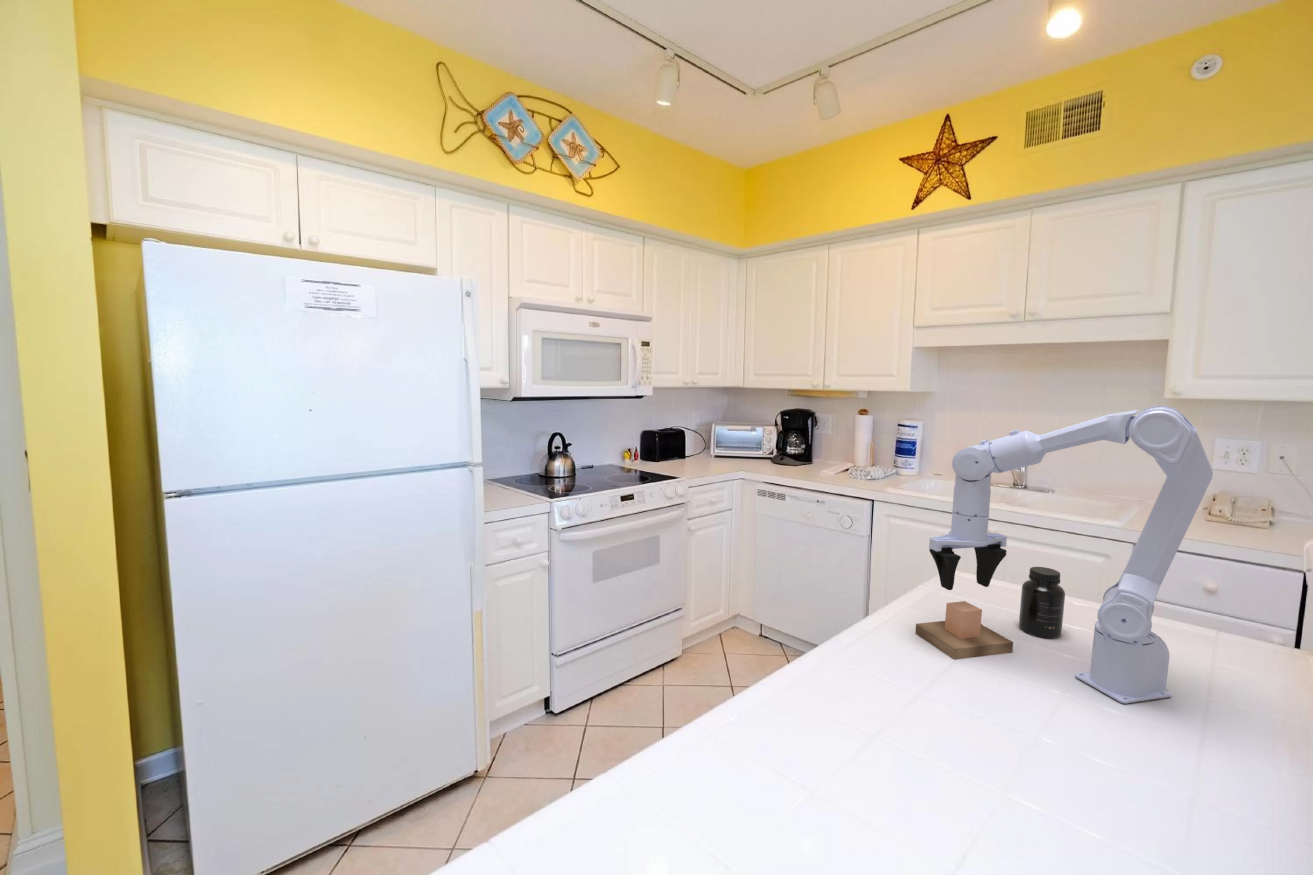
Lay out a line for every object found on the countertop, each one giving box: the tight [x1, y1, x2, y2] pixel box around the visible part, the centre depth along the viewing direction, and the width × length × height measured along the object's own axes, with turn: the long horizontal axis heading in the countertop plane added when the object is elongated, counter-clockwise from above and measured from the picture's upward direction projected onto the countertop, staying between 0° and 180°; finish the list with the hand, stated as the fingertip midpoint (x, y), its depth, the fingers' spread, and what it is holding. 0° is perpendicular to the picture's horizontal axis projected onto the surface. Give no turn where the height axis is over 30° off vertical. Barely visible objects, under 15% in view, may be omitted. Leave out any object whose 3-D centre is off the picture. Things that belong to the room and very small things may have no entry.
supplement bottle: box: [1018, 566, 1066, 639], centre depth 109 cm, size 7×7×12 cm
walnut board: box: [915, 620, 1014, 661], centre depth 105 cm, size 12×10×2 cm
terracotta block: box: [944, 600, 983, 639], centre depth 104 cm, size 4×4×5 cm
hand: (964, 586), depth 104 cm, fingers open, 7 cm apart
